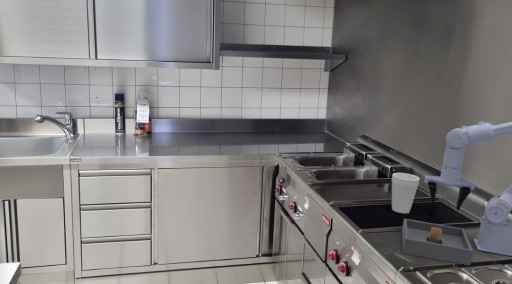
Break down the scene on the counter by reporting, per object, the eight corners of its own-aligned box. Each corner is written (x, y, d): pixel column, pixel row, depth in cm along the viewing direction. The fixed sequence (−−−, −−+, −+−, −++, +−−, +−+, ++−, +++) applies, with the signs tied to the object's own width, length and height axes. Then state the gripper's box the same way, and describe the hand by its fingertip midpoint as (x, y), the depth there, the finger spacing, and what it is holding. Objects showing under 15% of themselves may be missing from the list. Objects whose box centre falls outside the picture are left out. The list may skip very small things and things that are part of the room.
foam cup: (407, 206, 172) (412, 173, 169) (418, 215, 163) (424, 180, 160) (383, 205, 170) (388, 172, 168) (394, 214, 161) (399, 179, 159)
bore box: (461, 242, 142) (463, 228, 141) (470, 266, 126) (473, 251, 125) (401, 231, 146) (403, 218, 145) (402, 253, 130) (405, 238, 129)
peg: (438, 246, 137) (441, 228, 136) (439, 250, 134) (442, 231, 133) (427, 244, 138) (431, 226, 137) (428, 248, 135) (431, 229, 134)
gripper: (474, 166, 144) (467, 207, 146) (426, 160, 147) (420, 199, 150) (478, 172, 137) (470, 214, 140) (428, 165, 141) (421, 206, 144)
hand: (444, 207), depth 145 cm, fingers open, 7 cm apart
